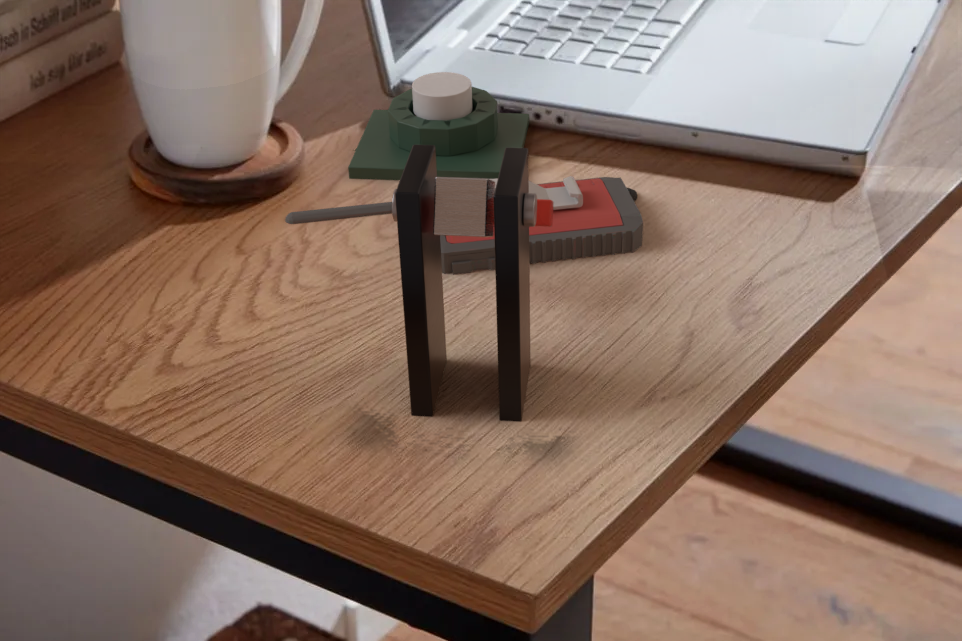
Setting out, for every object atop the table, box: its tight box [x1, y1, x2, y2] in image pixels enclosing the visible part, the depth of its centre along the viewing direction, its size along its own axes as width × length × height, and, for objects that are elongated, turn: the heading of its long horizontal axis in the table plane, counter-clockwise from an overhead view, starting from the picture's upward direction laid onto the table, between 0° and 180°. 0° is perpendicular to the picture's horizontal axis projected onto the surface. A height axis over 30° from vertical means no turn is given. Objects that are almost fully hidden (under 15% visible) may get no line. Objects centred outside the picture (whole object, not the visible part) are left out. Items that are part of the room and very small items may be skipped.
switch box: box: [347, 86, 530, 181], centre depth 82 cm, size 10×8×4 cm
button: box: [411, 71, 473, 120], centre depth 81 cm, size 4×4×2 cm
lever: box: [433, 177, 554, 237], centre depth 61 cm, size 12×6×2 cm, turn 173°
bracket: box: [391, 145, 537, 423], centre depth 59 cm, size 8×8×13 cm
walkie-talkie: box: [284, 175, 644, 276], centre depth 73 cm, size 9×4×20 cm
